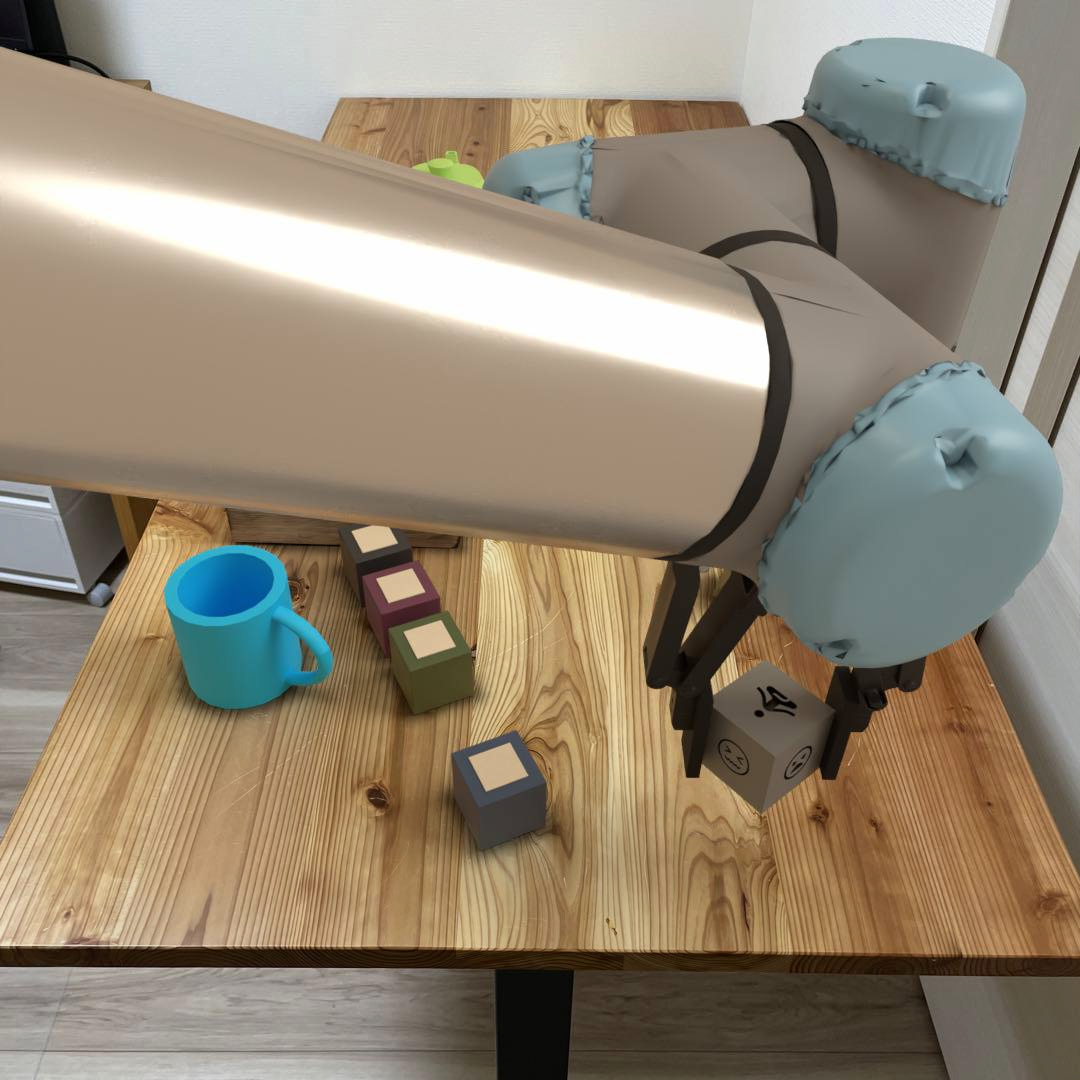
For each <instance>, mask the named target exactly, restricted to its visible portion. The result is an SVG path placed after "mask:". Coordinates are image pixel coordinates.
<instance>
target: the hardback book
mask: <svg viewBox="0 0 1080 1080" xmlns="http://www.w3.org/2000/svg"><path fill="white" fill-rule="evenodd" d="M224 508H225V507H224ZM225 513H226V517H227V521H228V526H229V530H230V535H231V538H232V542H234V543H235V542H237V543H270V544H271V543H273V544H274V543H275V544H302V545H303V544H306V545H307V544H308V545H335V546H337V545H339V546H340V540H339V533H338V529H339V528H343V527H347V526H350V525H354V524H357V523H349V522H341V521H333V520H324V519H316V518H308V517H299V516H291V515H283V514H275V513H266V512H258V511H250V510H241V509H233V508H225ZM402 531H403V533H404V534H405V536H406V538H407V540H408V541H409V543H410V545H411V547H412V548H439V549H440V548H441V549H458V547H459V544H460V540H461V536H457V535H449V534H440V533H432V532H424V531H415V530H407V529H402Z"/></svg>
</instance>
